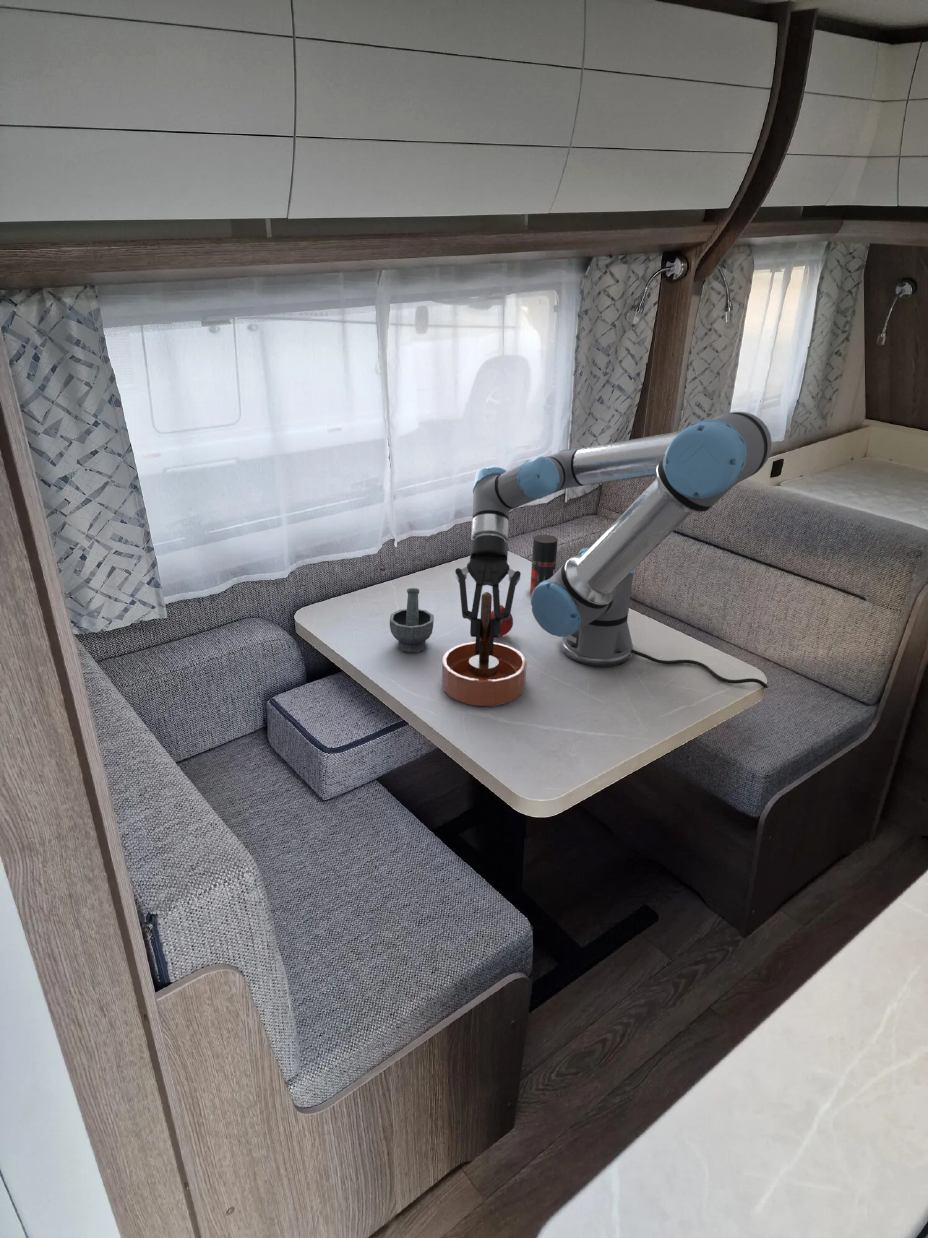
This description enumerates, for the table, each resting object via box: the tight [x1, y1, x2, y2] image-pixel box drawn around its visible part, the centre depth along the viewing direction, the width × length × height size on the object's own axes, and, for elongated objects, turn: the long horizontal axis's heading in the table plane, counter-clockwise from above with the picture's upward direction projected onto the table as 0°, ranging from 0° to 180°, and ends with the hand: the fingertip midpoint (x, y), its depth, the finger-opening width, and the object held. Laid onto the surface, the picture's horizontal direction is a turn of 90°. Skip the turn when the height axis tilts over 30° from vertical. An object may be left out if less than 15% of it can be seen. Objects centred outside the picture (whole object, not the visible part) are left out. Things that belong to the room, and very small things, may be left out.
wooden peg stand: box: [469, 591, 499, 678], centre depth 159 cm, size 6×6×17 cm
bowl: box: [441, 641, 528, 707], centre depth 163 cm, size 17×17×6 cm
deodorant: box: [529, 534, 559, 596], centre depth 204 cm, size 6×6×15 cm
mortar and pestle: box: [389, 587, 435, 653], centre depth 178 cm, size 11×9×12 cm
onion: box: [491, 604, 514, 638], centre depth 183 cm, size 6×6×8 cm
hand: (484, 652), depth 157 cm, fingers closed on wooden peg stand, 2 cm apart
